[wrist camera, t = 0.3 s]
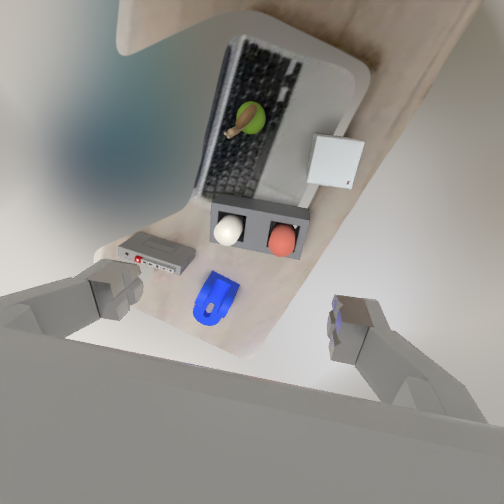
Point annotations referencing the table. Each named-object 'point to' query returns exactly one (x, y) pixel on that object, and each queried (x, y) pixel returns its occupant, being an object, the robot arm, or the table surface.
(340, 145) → the supplement box
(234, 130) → the snail figurine
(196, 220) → the table surface
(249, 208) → the block
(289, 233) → the red plug
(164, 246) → the cassette player
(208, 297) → the bracket
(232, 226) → the plug
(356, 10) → the table surface
